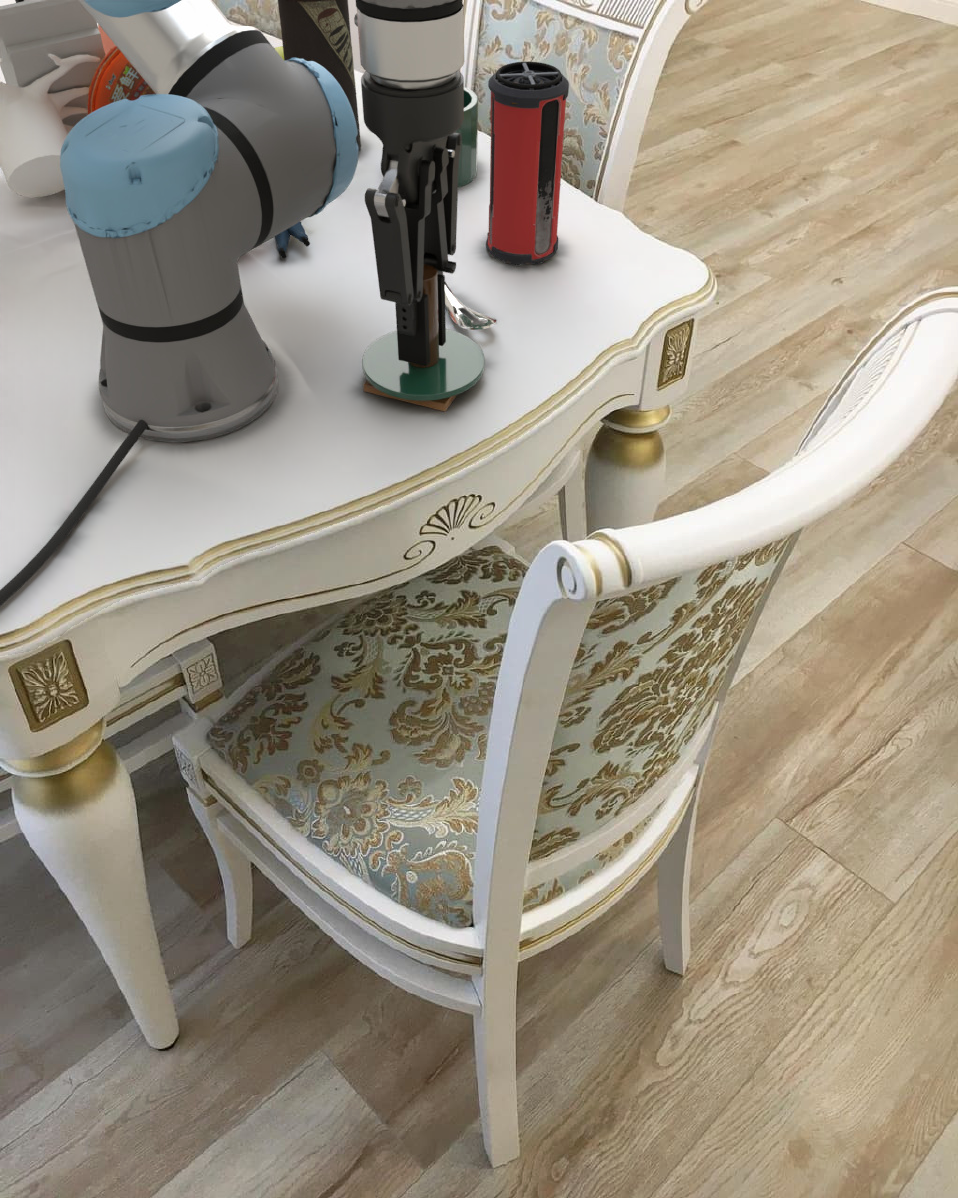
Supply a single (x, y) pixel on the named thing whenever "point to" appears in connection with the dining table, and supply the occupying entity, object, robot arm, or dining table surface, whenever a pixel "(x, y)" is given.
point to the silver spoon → (461, 319)
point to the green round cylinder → (468, 139)
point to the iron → (49, 45)
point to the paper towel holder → (448, 363)
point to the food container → (115, 82)
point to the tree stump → (37, 130)
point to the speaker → (525, 161)
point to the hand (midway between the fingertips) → (422, 350)
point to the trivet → (435, 404)
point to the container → (321, 40)
